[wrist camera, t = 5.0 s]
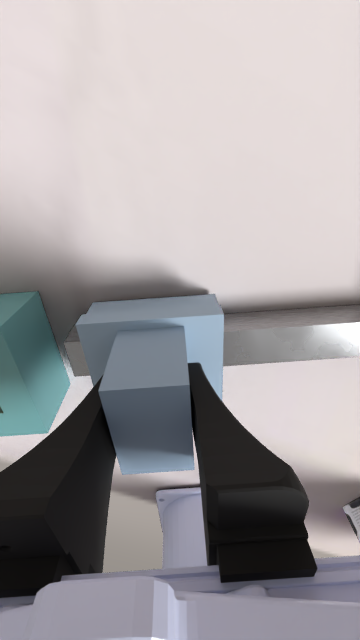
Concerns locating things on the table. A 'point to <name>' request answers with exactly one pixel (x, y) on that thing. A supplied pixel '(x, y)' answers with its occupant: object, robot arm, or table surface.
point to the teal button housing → (28, 367)
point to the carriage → (152, 373)
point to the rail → (272, 337)
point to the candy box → (354, 515)
